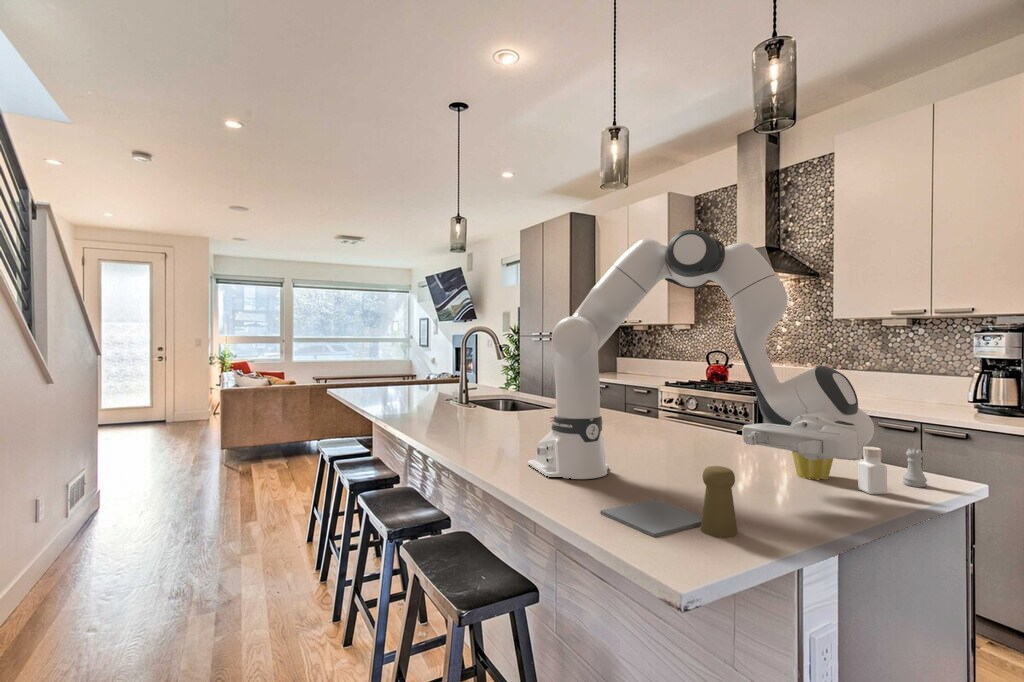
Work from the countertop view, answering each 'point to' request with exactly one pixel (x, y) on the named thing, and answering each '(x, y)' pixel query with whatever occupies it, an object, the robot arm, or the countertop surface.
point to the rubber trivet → (654, 517)
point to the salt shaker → (872, 472)
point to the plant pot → (812, 467)
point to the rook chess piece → (914, 469)
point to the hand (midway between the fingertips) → (771, 444)
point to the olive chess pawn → (719, 503)
